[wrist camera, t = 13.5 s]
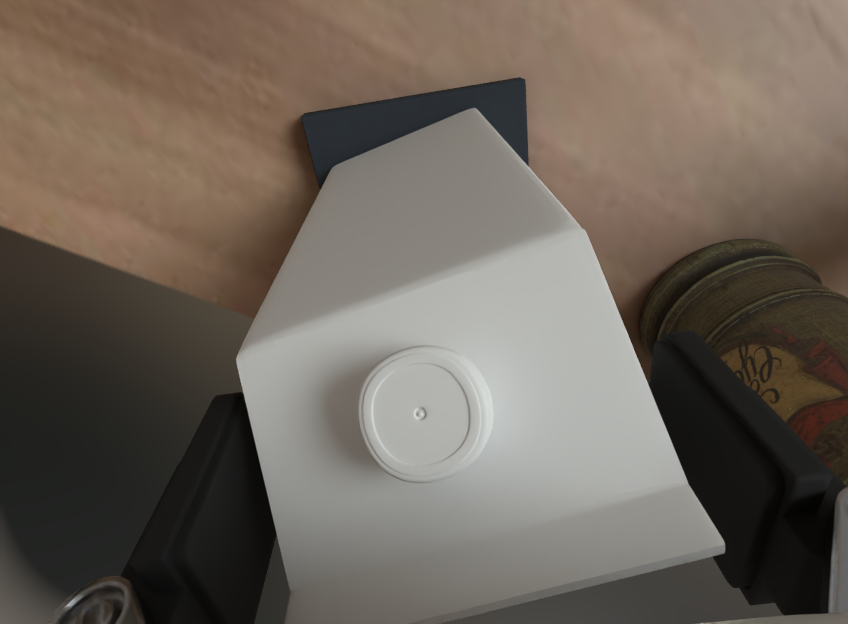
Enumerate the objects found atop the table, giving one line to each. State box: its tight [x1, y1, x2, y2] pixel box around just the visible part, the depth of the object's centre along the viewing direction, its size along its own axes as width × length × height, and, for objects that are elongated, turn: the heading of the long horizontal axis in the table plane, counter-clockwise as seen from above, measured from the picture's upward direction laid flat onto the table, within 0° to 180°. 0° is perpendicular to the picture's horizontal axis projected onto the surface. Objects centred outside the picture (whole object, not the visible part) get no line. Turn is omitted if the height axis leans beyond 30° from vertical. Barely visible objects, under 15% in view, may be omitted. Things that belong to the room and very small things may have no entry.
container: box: [640, 239, 848, 487], centre depth 21 cm, size 9×9×18 cm
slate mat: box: [301, 78, 529, 190], centre depth 24 cm, size 10×10×1 cm
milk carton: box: [236, 108, 725, 624], centre depth 15 cm, size 7×7×19 cm
